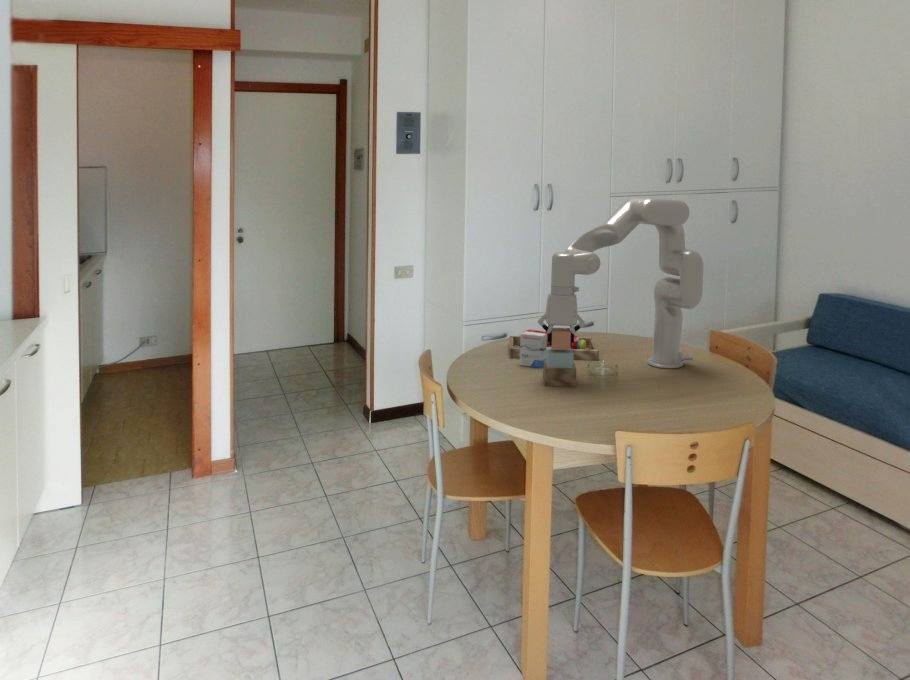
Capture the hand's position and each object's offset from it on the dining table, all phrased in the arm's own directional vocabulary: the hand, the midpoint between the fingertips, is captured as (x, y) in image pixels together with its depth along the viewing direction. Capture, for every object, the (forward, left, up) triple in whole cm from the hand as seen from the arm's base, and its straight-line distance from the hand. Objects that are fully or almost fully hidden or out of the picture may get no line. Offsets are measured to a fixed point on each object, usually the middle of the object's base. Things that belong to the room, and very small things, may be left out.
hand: (560, 343), depth 235 cm
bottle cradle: (0, -37, -13) cm, 39 cm away
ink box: (+8, -19, -13) cm, 24 cm away
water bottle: (-1, -39, -13) cm, 42 cm away
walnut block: (0, 0, -13) cm, 13 cm away
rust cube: (0, 0, -1) cm, 1 cm away
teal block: (0, 0, -7) cm, 7 cm away
